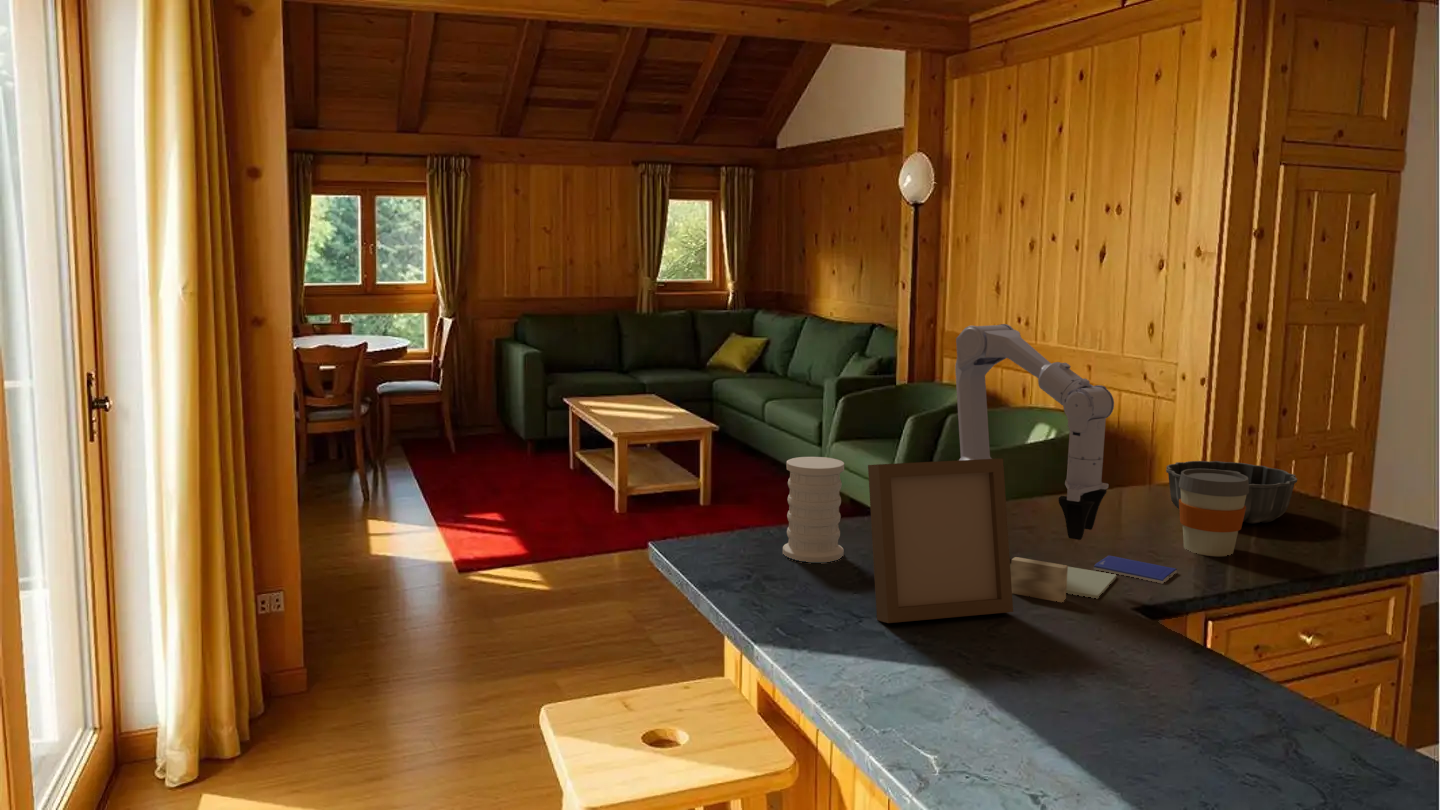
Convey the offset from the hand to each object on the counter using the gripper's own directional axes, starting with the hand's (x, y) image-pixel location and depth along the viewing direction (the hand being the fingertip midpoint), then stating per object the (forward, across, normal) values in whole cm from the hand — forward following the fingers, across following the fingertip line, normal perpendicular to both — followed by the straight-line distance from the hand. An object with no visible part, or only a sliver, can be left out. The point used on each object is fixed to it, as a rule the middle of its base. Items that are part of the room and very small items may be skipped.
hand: (1080, 533), depth 190 cm
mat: (+10, +3, +4) cm, 11 cm away
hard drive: (+10, +15, -7) cm, 20 cm away
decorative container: (+10, -8, +48) cm, 49 cm away
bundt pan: (+10, +70, -16) cm, 73 cm away
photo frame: (+10, -24, +18) cm, 32 cm away
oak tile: (+10, -8, +5) cm, 14 cm away
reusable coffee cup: (+10, +38, -16) cm, 43 cm away
